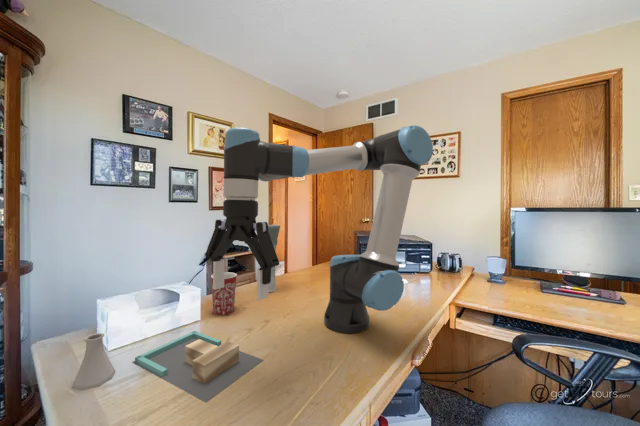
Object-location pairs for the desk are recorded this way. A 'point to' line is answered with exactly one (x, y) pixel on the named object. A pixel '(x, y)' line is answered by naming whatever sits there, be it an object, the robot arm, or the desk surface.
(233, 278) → the mug
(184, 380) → the mat
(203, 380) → the tee block
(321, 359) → the desk surface
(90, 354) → the flask
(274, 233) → the container
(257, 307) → the desk surface
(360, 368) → the desk surface
